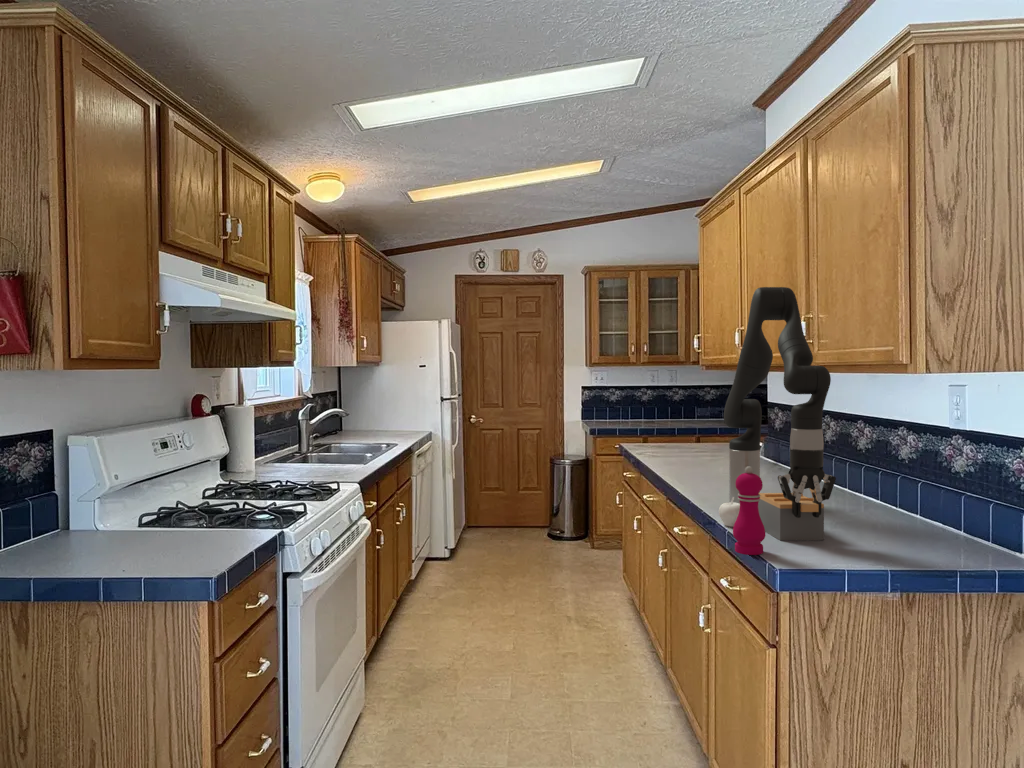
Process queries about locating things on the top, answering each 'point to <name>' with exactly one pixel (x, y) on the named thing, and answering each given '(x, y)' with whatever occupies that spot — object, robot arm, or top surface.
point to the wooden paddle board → (790, 502)
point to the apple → (729, 513)
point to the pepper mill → (749, 515)
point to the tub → (790, 523)
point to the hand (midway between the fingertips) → (806, 516)
